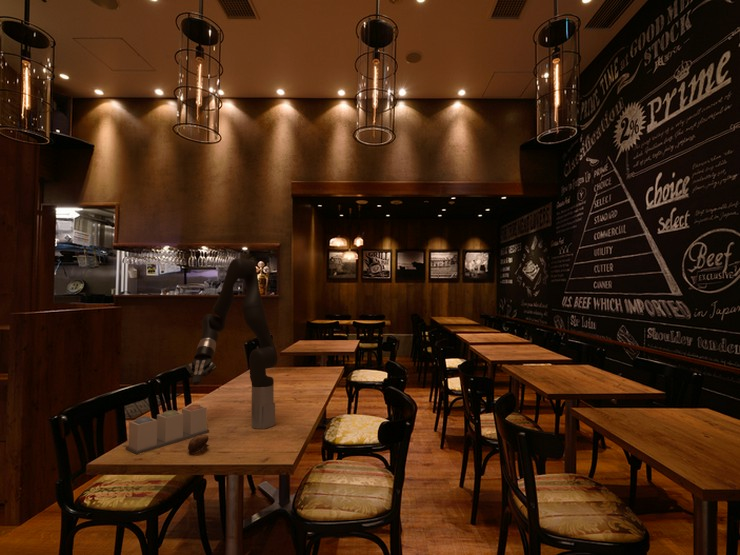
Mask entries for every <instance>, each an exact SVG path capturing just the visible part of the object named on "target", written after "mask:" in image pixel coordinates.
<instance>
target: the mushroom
mask: <svg viewBox="0 0 740 555" xmlns="http://www.w3.org/2000/svg"><path fill="white" fill-rule="evenodd" d="M208 441H209V436H208V435H207V434H202V435H198V436H196V437H192V438H191V440H189V443H188V446H187V450H188V452H189V453H190V454H191V455H194V454H197V453H199V452H204V451H205V450H206V449H207V448H208V447H210V444H207V443H208Z"/></svg>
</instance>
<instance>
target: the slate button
mask: <svg viewBox="0 0 740 555" xmlns="http://www.w3.org/2000/svg"><path fill="white" fill-rule="evenodd" d="M150 418H151V416H147V415H146V416H141V417H137V418H136V419H135V420H136V423H137V424H141V423H145V422H149V421H150Z"/></svg>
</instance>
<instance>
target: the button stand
mask: <svg viewBox="0 0 740 555" xmlns="http://www.w3.org/2000/svg"><path fill="white" fill-rule="evenodd" d="M207 408H208V407H206V406H203V405H200V409H197V410H193V411H190V410H188V407H184V408H181V412H180V411H177V415H173V416H169V417H165V416H163V413H159V414H156V418H152V417H150V421H149V422H145V423H141V424H137V423H136V419H135V420H131V421H128V445H126V446H125V450H126V451H128V452H130V453H132V454H135V455H141V454H143V452H144V453H146V452H149V451H153V450H156V449H160V448H163V447H167V446H170V445H172V444H176V443H179V442H182V441H187V440H189V439H193V438H194V437H196V436H198V435H206V434H208V433H209V434H210V429H208V428H207V416H208V415H207V413H208V411H207V410H208V409H207ZM140 453H141V454H140Z"/></svg>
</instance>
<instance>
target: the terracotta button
mask: <svg viewBox="0 0 740 555" xmlns="http://www.w3.org/2000/svg"><path fill="white" fill-rule="evenodd" d="M200 406H201V404H191V405H188V407H187V408H188V410H190V411H193V410H197V409H200Z"/></svg>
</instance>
